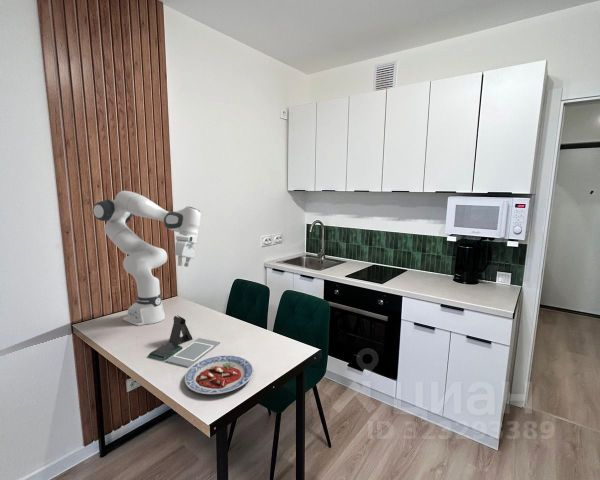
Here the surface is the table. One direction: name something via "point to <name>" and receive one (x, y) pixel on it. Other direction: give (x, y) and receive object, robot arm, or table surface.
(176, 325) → the phone stand
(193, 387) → the ceramic plate
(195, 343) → the marked board
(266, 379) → the table surface
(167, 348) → the ink pad
